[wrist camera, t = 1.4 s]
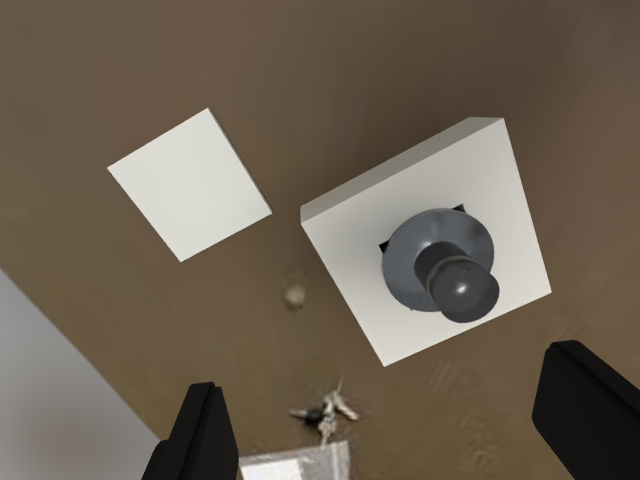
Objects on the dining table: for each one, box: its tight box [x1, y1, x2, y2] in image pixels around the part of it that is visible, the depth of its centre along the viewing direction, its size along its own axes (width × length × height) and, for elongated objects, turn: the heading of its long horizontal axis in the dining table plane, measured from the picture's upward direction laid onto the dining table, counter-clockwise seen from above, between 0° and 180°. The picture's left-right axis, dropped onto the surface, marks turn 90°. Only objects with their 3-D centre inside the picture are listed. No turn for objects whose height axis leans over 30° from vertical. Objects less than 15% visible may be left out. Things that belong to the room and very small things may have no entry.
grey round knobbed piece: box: [381, 208, 500, 323], centre depth 32 cm, size 11×11×12 cm
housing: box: [301, 117, 552, 367], centre depth 35 cm, size 20×20×6 cm
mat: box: [108, 108, 273, 262], centre depth 34 cm, size 12×12×1 cm
